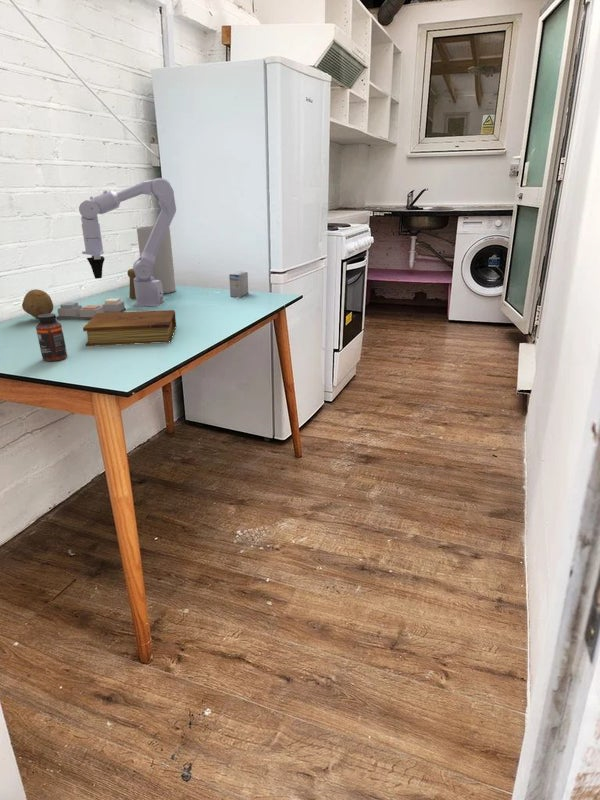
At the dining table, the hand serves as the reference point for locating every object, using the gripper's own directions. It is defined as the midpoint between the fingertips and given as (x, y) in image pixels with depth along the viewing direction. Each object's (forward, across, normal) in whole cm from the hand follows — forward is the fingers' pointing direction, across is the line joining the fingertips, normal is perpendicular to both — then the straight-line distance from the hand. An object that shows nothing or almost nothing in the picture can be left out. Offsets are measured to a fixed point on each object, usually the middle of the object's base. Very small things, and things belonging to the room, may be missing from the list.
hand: (98, 278), depth 189 cm
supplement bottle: (+11, +58, -18) cm, 61 cm away
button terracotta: (+9, +15, -5) cm, 18 cm away
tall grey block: (+10, -20, +25) cm, 34 cm away
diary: (+11, +44, +4) cm, 45 cm away
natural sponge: (+11, +10, -21) cm, 25 cm away
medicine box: (+10, +2, +51) cm, 52 cm away
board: (+10, +10, -4) cm, 15 cm away
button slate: (+9, +10, -11) cm, 17 cm away
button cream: (+8, +10, +3) cm, 13 cm away
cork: (+10, -13, +14) cm, 22 cm away
